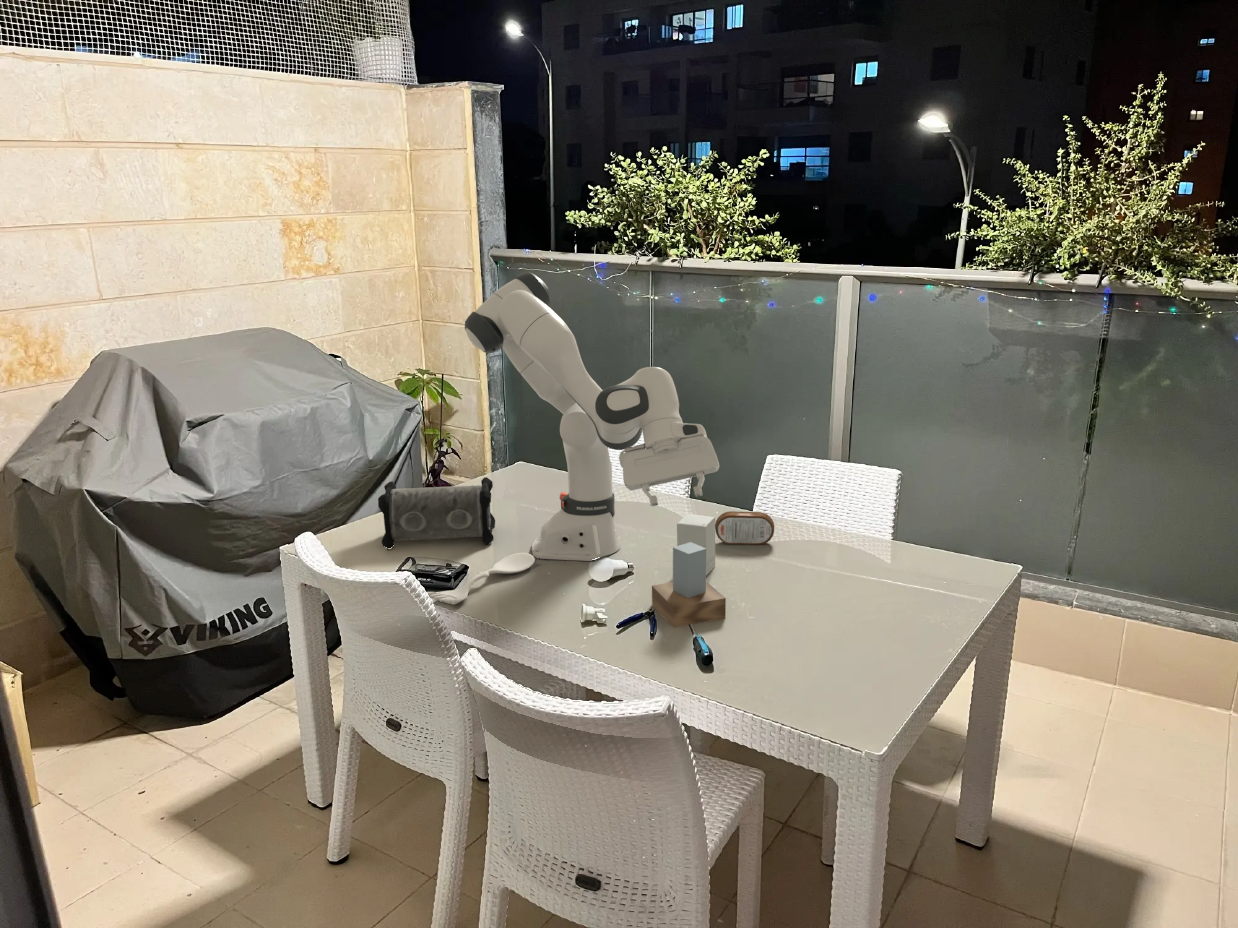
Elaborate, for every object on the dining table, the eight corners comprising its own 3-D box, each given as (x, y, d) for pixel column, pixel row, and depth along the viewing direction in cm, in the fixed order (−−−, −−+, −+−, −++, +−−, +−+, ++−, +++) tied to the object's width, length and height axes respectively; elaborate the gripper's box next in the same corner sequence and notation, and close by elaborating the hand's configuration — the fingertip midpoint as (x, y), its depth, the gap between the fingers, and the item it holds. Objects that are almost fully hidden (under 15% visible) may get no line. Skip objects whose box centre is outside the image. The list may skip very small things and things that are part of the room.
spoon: (423, 606, 212) (422, 591, 211) (513, 559, 238) (513, 546, 237) (453, 615, 207) (452, 600, 206) (542, 566, 233) (542, 552, 232)
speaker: (494, 547, 246) (490, 491, 241) (381, 552, 243) (376, 497, 239) (495, 527, 260) (492, 474, 256) (389, 532, 258) (384, 479, 253)
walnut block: (673, 629, 199) (673, 607, 198) (652, 606, 210) (651, 585, 208) (725, 619, 203) (725, 597, 201) (701, 597, 214) (701, 577, 212)
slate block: (672, 590, 205) (672, 547, 203) (690, 584, 208) (690, 542, 206) (688, 598, 202) (688, 553, 199) (705, 592, 205) (706, 548, 202)
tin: (773, 542, 245) (774, 511, 243) (774, 546, 242) (775, 515, 240) (714, 541, 246) (715, 510, 244) (714, 545, 243) (715, 514, 241)
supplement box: (716, 565, 230) (716, 516, 227) (705, 577, 224) (706, 526, 220) (687, 561, 233) (687, 512, 230) (676, 572, 227) (676, 522, 223)
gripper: (614, 445, 201) (625, 506, 196) (709, 423, 198) (722, 485, 193) (620, 454, 207) (631, 514, 202) (713, 433, 204) (725, 494, 199)
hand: (676, 500), depth 197 cm, fingers open, 8 cm apart
